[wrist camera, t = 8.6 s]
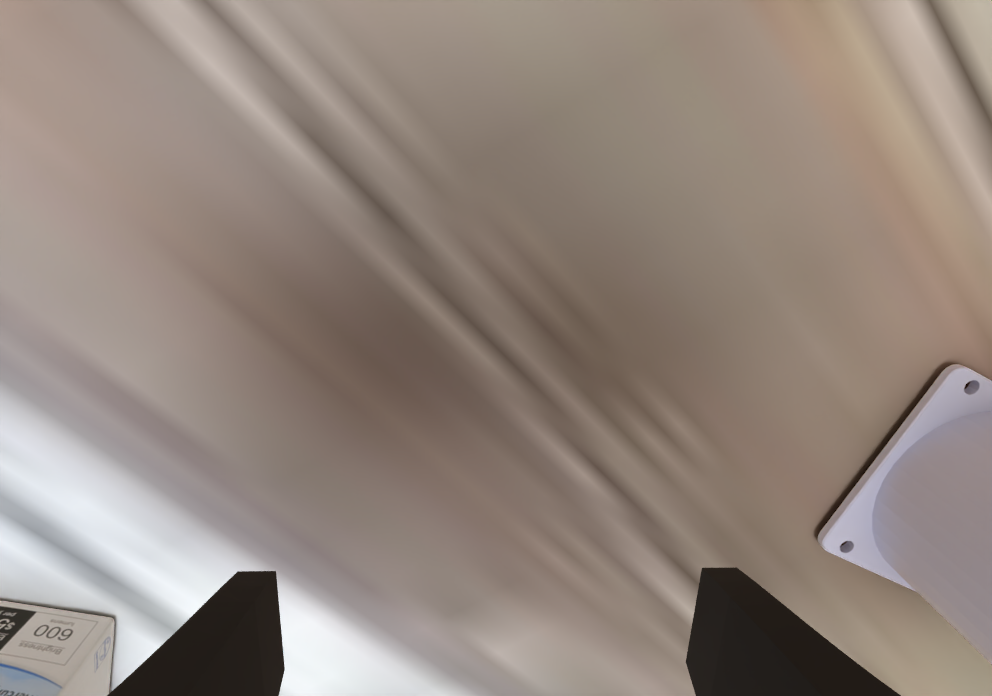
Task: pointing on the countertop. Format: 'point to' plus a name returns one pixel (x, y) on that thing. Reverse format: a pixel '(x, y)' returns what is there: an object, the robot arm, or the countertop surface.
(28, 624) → the light bulb box
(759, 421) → the countertop surface
